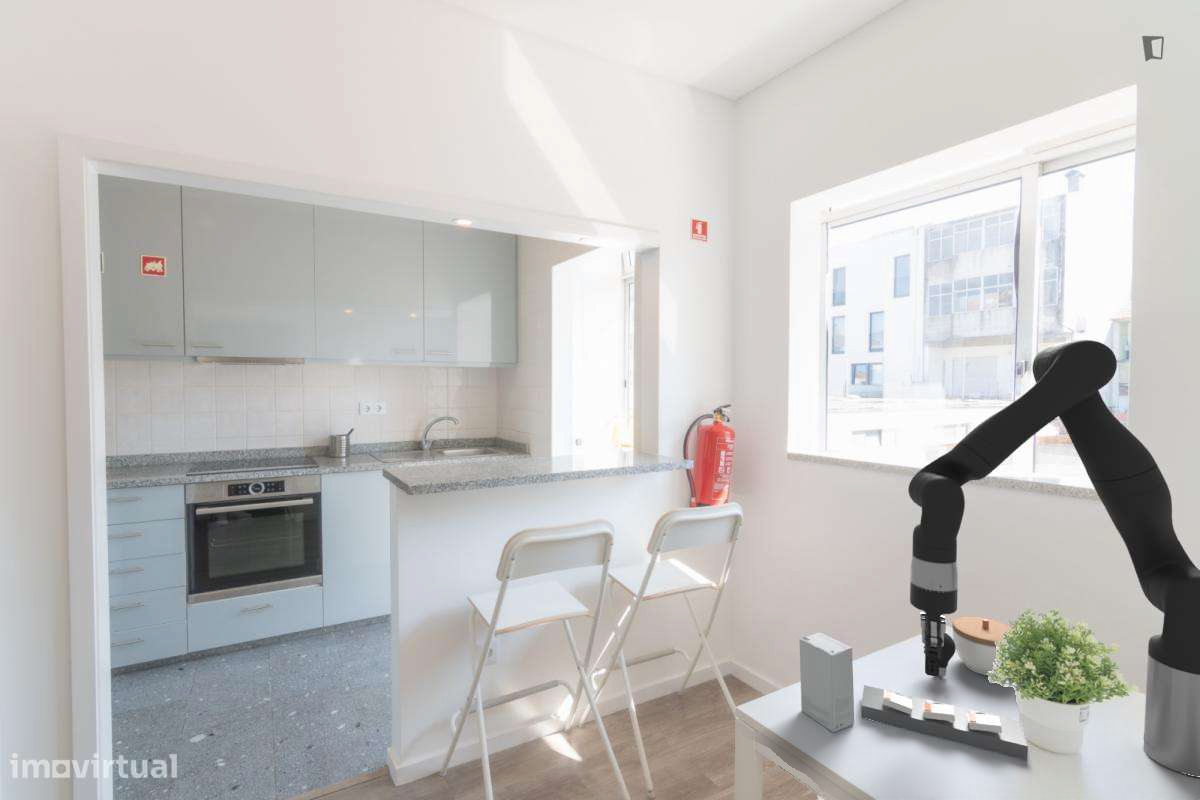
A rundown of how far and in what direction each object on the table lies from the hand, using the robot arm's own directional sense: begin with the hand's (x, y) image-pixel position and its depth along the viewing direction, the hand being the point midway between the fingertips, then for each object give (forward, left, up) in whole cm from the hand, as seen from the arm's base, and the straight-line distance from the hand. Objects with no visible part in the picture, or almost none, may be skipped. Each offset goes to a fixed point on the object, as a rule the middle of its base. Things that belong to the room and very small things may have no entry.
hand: (931, 673), depth 107 cm
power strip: (-1, -2, -11) cm, 11 cm away
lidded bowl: (-11, -31, -11) cm, 35 cm away
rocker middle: (-1, 0, -8) cm, 8 cm away
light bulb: (-2, -22, -11) cm, 25 cm away
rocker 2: (-8, 0, -8) cm, 11 cm away
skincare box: (+18, +5, -11) cm, 21 cm away
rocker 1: (+6, 0, -8) cm, 9 cm away
